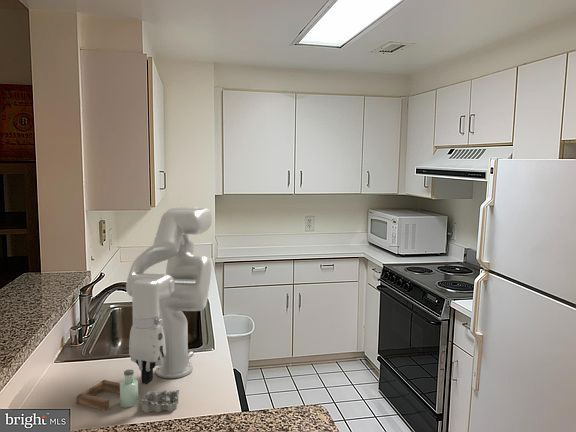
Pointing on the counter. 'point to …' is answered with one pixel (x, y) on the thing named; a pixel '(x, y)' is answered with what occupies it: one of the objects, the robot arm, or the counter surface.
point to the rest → (96, 402)
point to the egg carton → (160, 396)
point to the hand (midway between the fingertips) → (147, 382)
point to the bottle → (128, 390)
